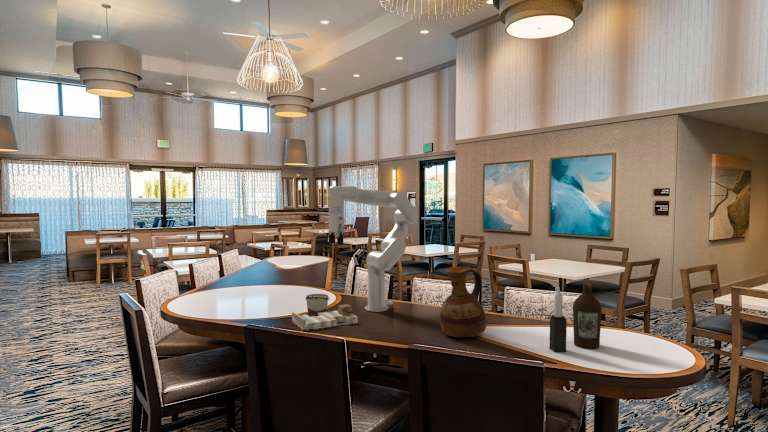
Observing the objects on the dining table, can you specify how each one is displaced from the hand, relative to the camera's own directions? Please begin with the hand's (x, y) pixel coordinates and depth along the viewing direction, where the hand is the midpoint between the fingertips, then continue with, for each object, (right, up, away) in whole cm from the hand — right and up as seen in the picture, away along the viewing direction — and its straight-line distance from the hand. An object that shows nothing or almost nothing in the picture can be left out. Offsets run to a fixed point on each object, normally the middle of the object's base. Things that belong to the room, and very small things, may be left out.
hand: (336, 243), depth 219 cm
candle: (+93, -39, -51) cm, 113 cm away
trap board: (-3, -37, -14) cm, 39 cm away
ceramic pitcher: (+59, -38, -32) cm, 77 cm away
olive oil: (+107, -39, -46) cm, 122 cm away
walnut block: (+5, -34, -9) cm, 35 cm away
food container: (-9, -37, +3) cm, 38 cm away
